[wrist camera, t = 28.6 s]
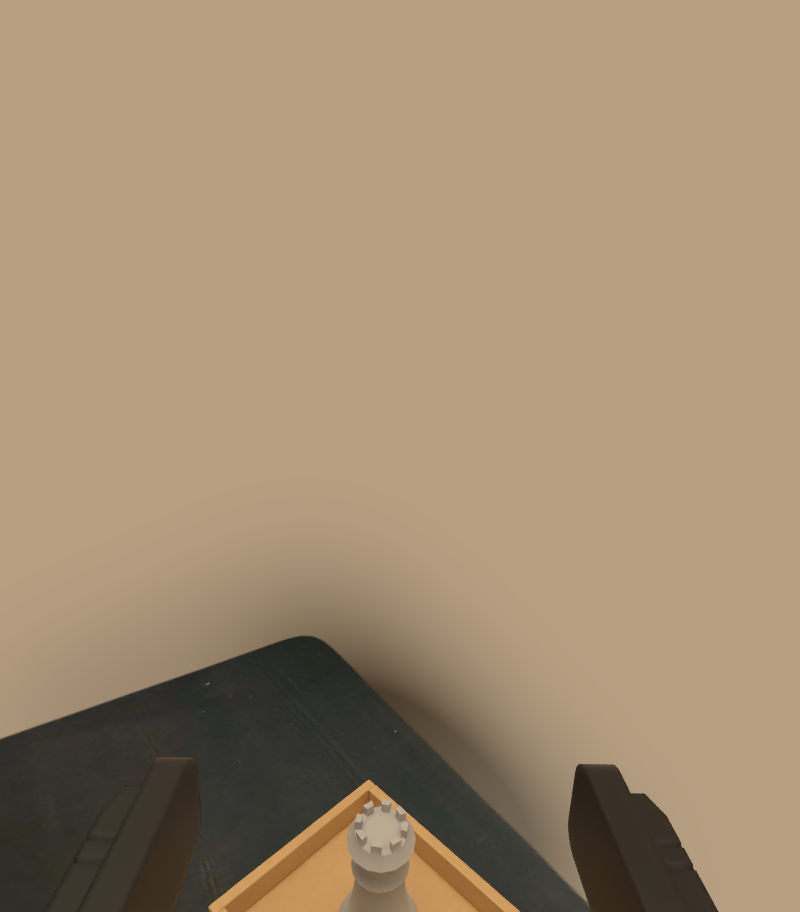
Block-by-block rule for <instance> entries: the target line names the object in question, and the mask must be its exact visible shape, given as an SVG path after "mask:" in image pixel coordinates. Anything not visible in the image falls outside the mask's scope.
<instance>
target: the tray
mask: <svg viewBox="0 0 800 912" xmlns="http://www.w3.org/2000/svg"><path fill="white" fill-rule="evenodd" d="M382 799H385V800H391V808H392V809H394V810H396V809H397V808H398V807H399V805H398V804H397V803H395V802H394V801H393V800H392V799H391V798H390V797H389V796H387V795H386V794H385V793H384V792H383V791H382V790H381V789H379V788H378V787H377V786H376V785H374V784H373V783H372V782H371V781H370V780H368V781H366V782H365V783H364V784H362V785H361V786H360V787H359V788H357V789H356V790H355V791H354V792H352V793H351V794H350V795H349V796H347V797H346V798H345V799H344V800H342V801H341V802H340V803H338V804H337V805H336V806H335V807H333V808H332V809H331V810H330V811H328V812H327V813H326V814H325V815H323V816H322V817H321V818H320V819H318V820H317V821H316V822H314V823H313V824H312V825H311V826H309V827H308V828H307V829H306V830H304V831H303V832H302V833H301V834H299V835H298V836H297V837H296V838H294V839H293V840H292V841H290V842H289V843H288V844H287V845H285V846H284V847H283V848H282V849H280V850H279V851H278V852H277V853H275V854H274V855H273V856H272V857H270V858H269V859H268V860H266V861H265V862H264V863H263V864H261V865H260V866H259V867H258V868H256V869H255V870H254V871H253V872H251V873H250V874H249V875H248V876H246V877H245V878H244V879H242V880H241V881H240V882H239V883H237V884H236V885H235V886H234V887H232V888H231V889H230V890H229V891H227V892H226V893H225V894H224V895H222V896H221V897H220V898H218V899H217V900H216V901H215V902H213V903H212V904H211V905H210V906H209V907H208V908H209V912H339V909H340V906H341V904H342V903H343V901H344V900H345V899H346V897H347V896H348V894H349V893H350V891H351V890H352V889H353V886H354V881H355V878H354V876H353V874H352V868H351V860H352V857H351V855H350V853H349V852H348V847H347V840H346V838H347V834H348V831H349V827H350V825H351V824H352V823H353V821H354V820H355V819H356V815H357V813H358V814H362V813H363V805H365V804H367V803H368V802H370V801H372V802H373V804H374V808H375V807H380V806H381V803H382ZM404 811H405V810H404ZM405 812H406V811H405ZM406 819H407V820H408V821H409V822H410V824H411V825H412V826H413V830H414V834H415V837H416V840H415V847H414V852H413V853H412V855H411V856H410V858H409V862H410V865H409V871H408V875H407V876H406V878H405V885H406V891H407V892H408V893H409V895H410V897H411V898H412V900H413V901H414V903H415V904H416V907H417V910H418V912H520V911H519V910H518V909H516V908H515V907H514V906H513V905H512V904H511V903H510V902H508V901H507V900H506V899H505V898H504V897H503V896H502V895H500V894H499V893H498V892H497V891H496V890H495V889H494V888H492V887H491V886H490V885H489V884H488V883H487V882H486V881H484V880H483V879H482V878H481V877H480V876H479V875H478V874H476V873H475V872H474V871H473V870H472V869H471V868H470V867H468V866H467V865H466V864H465V863H464V862H463V861H462V860H460V859H459V858H458V857H457V856H456V855H455V854H454V853H452V852H451V851H450V850H449V849H448V848H447V847H446V846H444V845H443V844H442V843H441V842H440V841H439V840H438V839H436V838H435V837H434V836H433V835H432V834H431V833H430V832H428V831H427V830H426V829H425V828H424V827H423V826H422V825H420V824H419V823H418V822H417V821H416V820H415V819H414V818H412V817H411V816H410V815H409V814H408V813H407V812H406Z"/></svg>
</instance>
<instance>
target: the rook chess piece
mask: <svg viewBox="0 0 800 912" xmlns="http://www.w3.org/2000/svg"><path fill="white" fill-rule="evenodd" d="M346 840H347V847H348V852H349V853H350V855H351V857H352V860H351V868H352V874H353V876H354V878H355V881H354V886H353V889H352V890H351V891H350V893H349V894H348V896H347V897H346V899H345V900H344V901H343V903H342V904H341V906H340V909H339V912H418V910H417V907H416V904H415V903H414V901H413V900H412V898H411V897H410V895H409V893H408V892H407V891H406V885H405V878H406V876H407V875H408V871H409V865H410V862H409V858H410V856H411V855H412V853H413V852H414V847H415V840H416V837H415V834H414V830H413V826H412V825H411V824H410V822H409V821H408V820H407V819H406V812H405V811H404V810H403V809H402V807H401V806H399V807H398V808H397V809H396V810H394V809H392V808H391V800H385V799H382V803H381V806H380V807H375V808H374V804H373V802H372V801H370V802H368V803H367V804H365V805H363V813H362V814H358V813H357V815H356V819H355V820H354V821H353V823H352V824H351V825H350V827H349V831H348V834H347V838H346Z"/></svg>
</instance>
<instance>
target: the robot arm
mask: <svg viewBox="0 0 800 912" xmlns="http://www.w3.org/2000/svg"><path fill="white" fill-rule="evenodd" d="M568 821H569V822H568V831H569V840H570V846H571V851H572V854H573V858H574V861H575V864H576V867H577V870H578V873H579V876H580V879H581V882H582V885H583V888H584V891H585V894H586V897H587V900H588V903H589V906H590V909H591V912H718V910H717V908H716V907H715V905H714V903H713V901H712V899H711V898H710V896H709V894H708V892H707V890H706V888H705V886H704V884H703V882H702V881H701V879H700V877H699V875H698V873H697V871H694V869H693V864H692V862H691V860H690V859H689V857H688V855H687V853H686V851H685V849H684V848H682V847H681V842H680V840H679V838H678V836H677V834H676V833H675V831H674V829H673V827H672V825H671V823H670V822H669V820H668V818H667V816H666V815H665V814H664V813H663V812H662V811H661V810H660V809H659V808H658V807H657V806H656V805H655V804H654V803H653V802H652V801H651V800H650V799H649V798H648V797H647V796H646V795H645V794H633V793H630V791H629V789H628V787H627V785H626V783H625V781H624V779H623V777H622V775H621V773H620V771H619V769H618V768H617V767H616V766H615V765H606V764H602V765H601V764H597V765H596V764H579V765H578V766H577V768H576V771H575V778H574V785H573V792H572V799H571V806H570V812H569V820H568ZM200 825H201V808H200V795H199V782H198V770H197V762H196V759H195V758H173V757H158V758H157V759H156V760H155V761H154V762H153V764H152V766H151V768H150V770H149V772H148V773H147V775H146V777H145V779H144V781H143V783H142V785H141V786H125V787H124V788H123V789H122V790H121V791H120V792H119V793H118V794H117V795H116V796H114V797H113V798H112V799H111V800H110V801H109V802H108V803H107V804H106V805H105V806H104V807H103V808H102V809H101V811H100V813H99V815H98V816H97V818H96V820H95V822H94V823H93V825H92V827H91V829H90V830H89V832H88V834H87V837H86V840H85V841H83V843H82V844H81V846H80V848H79V850H78V851H77V853H76V855H75V857H74V861H73V863H72V864H70V866H69V867H68V869H67V871H66V873H65V874H64V876H63V878H62V880H61V881H60V883H59V885H58V887H57V888H56V890H55V892H54V894H53V895H52V897H51V899H50V901H49V902H48V904H47V906H46V908H45V909H44V911H43V912H174V909H175V906H176V903H177V900H178V898H179V895H180V892H181V889H182V886H183V884H184V881H185V878H186V875H187V872H188V870H189V867H190V864H191V861H192V858H193V855H194V853H195V850H196V846H197V842H198V838H199V832H200Z"/></svg>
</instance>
